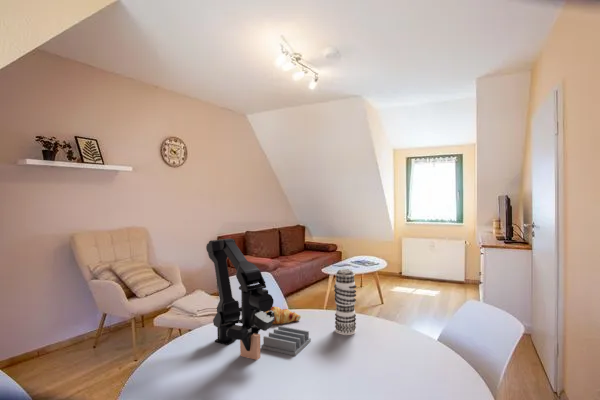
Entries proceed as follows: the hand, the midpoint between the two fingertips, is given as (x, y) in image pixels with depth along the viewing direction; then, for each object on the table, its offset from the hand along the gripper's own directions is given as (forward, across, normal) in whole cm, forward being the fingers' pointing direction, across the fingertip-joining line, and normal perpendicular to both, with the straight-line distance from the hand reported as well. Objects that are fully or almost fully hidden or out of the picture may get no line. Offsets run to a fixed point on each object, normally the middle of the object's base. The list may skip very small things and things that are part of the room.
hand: (250, 349), depth 113 cm
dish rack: (+2, +14, -7) cm, 15 cm away
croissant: (+3, +32, +8) cm, 33 cm away
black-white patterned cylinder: (+3, +35, -23) cm, 42 cm away
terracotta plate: (+3, 0, 0) cm, 3 cm away
